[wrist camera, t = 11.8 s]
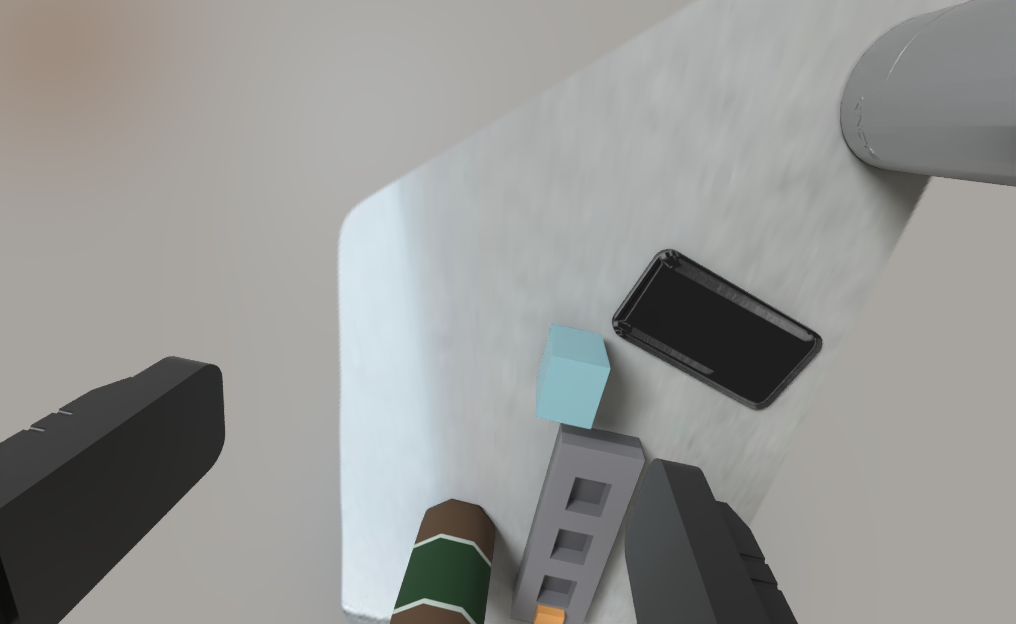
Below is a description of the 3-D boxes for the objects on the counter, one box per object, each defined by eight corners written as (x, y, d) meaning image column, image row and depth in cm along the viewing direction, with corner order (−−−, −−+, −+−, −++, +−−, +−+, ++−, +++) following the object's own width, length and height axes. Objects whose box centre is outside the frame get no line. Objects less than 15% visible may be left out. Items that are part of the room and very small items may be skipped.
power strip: (561, 421, 41) (562, 449, 38) (638, 438, 41) (647, 467, 38) (513, 591, 50) (510, 626, 46) (577, 604, 50) (579, 641, 46)
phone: (666, 245, 34) (829, 340, 36) (662, 242, 35) (821, 334, 37) (606, 330, 37) (760, 415, 39) (604, 325, 38) (755, 407, 40)
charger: (551, 315, 38) (552, 355, 31) (599, 326, 38) (610, 368, 31) (537, 368, 40) (535, 417, 33) (583, 379, 40) (590, 429, 33)
